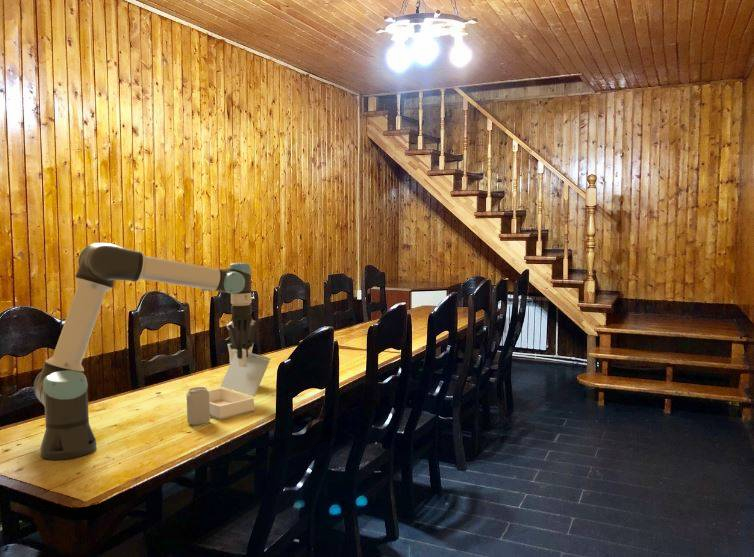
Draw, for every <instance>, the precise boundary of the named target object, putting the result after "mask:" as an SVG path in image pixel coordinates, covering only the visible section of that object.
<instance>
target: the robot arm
mask: <svg viewBox="0 0 754 557" xmlns="http://www.w3.org/2000/svg"><path fill="white" fill-rule="evenodd" d="M74 279H75V282H77V287H76V290H75V293H74V296H73V298H72V301H71V303H70V306H69V309H68V313H67V316H66V318H65V321H64V322H63V327H62V329H61V332H60V335H59V338H58V341H57V344H56V346H55V349H54V351H53V354H52V356H51V357H50V358H48V359H45V362H44V364H43V367H42V370H41V372H39V373H38V374H37V376H36V378H35V380H34V382H33V390H34V396H35V397H36V399H37V401H39V402H40V403H41V404H42V405H43V407H44V419H45V430H44V434H43V438H42V442H41V445H40V448H39V449H40V451H39V452H40V457H41V458H42V459H44V460H50V461H58V460H59V461H60V460H61V461H62V460H71V459H76V458H79V457H83V456H86V455H89V454H91V453H92V452H94V451H95V450H96V449H97V438H96V437H95V435H94V434H95V433H94V432H93V430H92V428H91V425H90V420H89V419H90V418H89V396H88V395H89V394H88V388H89V384H88V383H89V382H88V380H87V377H86V375H85V374H84V372H85V369H84V366H83V365H82V362H83V359H84V356H85V353H86V350H87V348H88V345H89V342H90V339H91V335H92V333H93V330H94V327H95V325H96V322H97V320H98V316H99V312H100V310H101V308H102V304H103V302H104V299H105V296H106V293H107V292H109V291H111V290H112V289H113V288H114V285H115V282H116V281H125V282H126V281H127V282H128V281H129V282H139V281H140V280H144V281H148V282H149V281H151V282H156V283H164V284H169V285H176V286H183V287H188V288H195V289H200V291H202V292H203V291H204V292H205V291H206V292H207V291H208V292H210V291H211V292H212V291H216V292H220V293H228V294H230V304H231V306H230V311H231V312H230V313H231V319H230V322H228V323H225V328H226V329H227V333H228V336H229V340H230V344H232V348H234V349H237V357H238V358H239V367H243V368H244V367H247V361H246V358H247V357H248V350H249V349H250V348H249V347H252V345H253V346H254V339H255V333H256V328H257V326H258V323H259V322H258V321H256V320H254V319H253V317H252V313H253V309H252V308H253V306H252V269H251V264H250V263H248V262H232V263H230V264H229V268H226V269H224V268H223V269H220V268H215V267H209V266H204V265H198V264H193V263H187V262H181V261H177V260H171V259H165V258H161V257H154V256H147V255H145V254H144V253H143V252H142V251H137V250H134V249H129V248H126V247H123V246H120V245H117V244H114V243H110V242H109V243H107V242H93V243H91V244H89V245H87V246H86V247H84V248H83V249H82V251H81V252H80V253H79V256H78V268H77V271H76V274H75V277H74Z"/></svg>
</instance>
